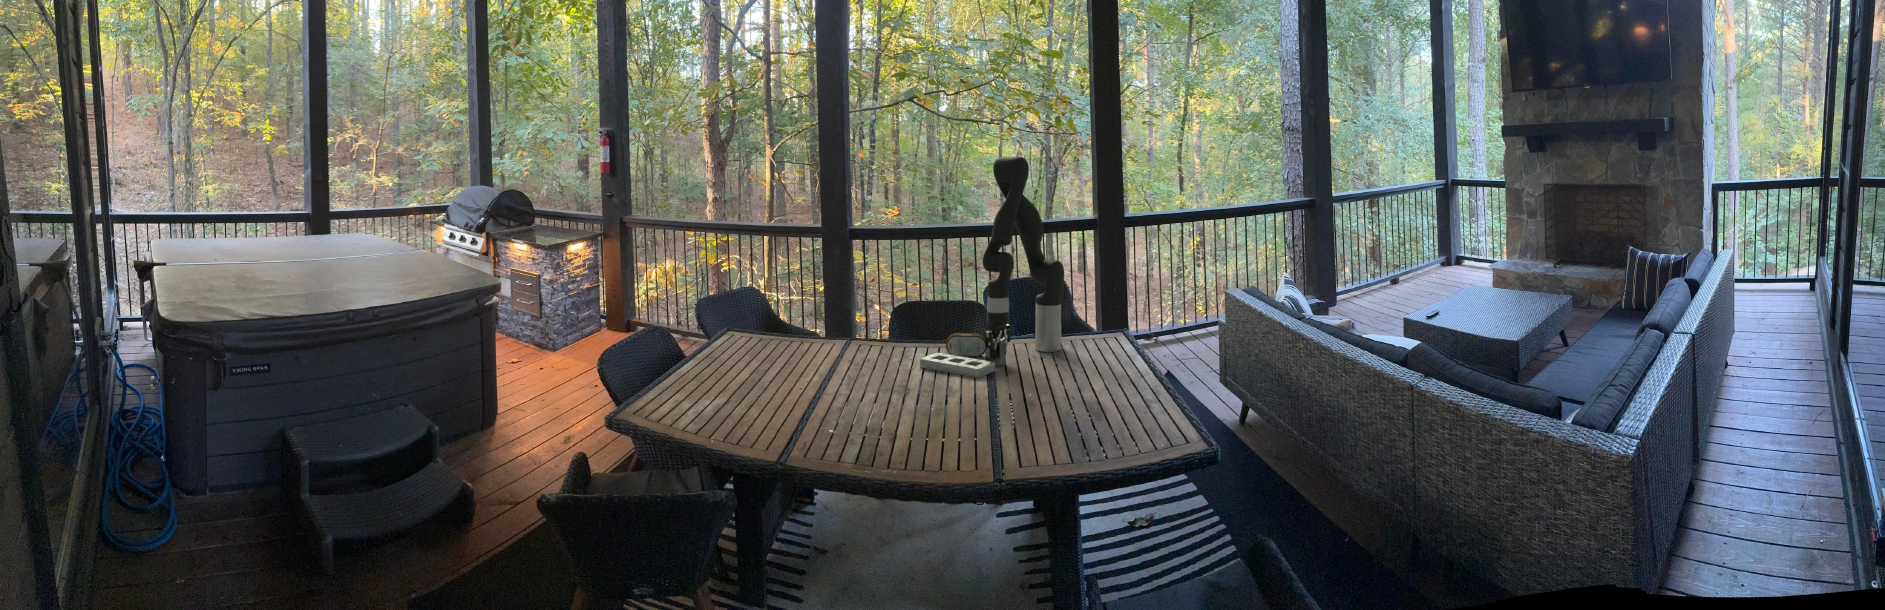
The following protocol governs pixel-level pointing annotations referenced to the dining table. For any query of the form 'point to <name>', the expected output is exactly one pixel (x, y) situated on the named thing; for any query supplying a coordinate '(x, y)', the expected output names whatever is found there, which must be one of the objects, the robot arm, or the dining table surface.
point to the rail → (957, 365)
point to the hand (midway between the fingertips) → (998, 357)
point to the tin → (966, 344)
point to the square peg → (1000, 353)
